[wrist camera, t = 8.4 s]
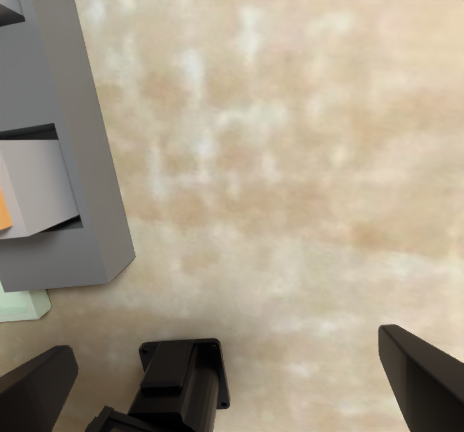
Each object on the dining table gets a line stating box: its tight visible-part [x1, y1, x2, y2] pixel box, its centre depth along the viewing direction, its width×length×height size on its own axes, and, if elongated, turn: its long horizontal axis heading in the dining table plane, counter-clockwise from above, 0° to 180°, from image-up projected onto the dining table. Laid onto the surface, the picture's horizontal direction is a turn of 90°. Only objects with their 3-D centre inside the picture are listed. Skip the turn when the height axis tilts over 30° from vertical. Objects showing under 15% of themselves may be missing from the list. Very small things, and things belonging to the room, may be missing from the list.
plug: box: [0, 140, 80, 239], centre depth 15 cm, size 4×4×7 cm
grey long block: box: [0, 0, 136, 293], centre depth 17 cm, size 22×7×4 cm, turn 8°
